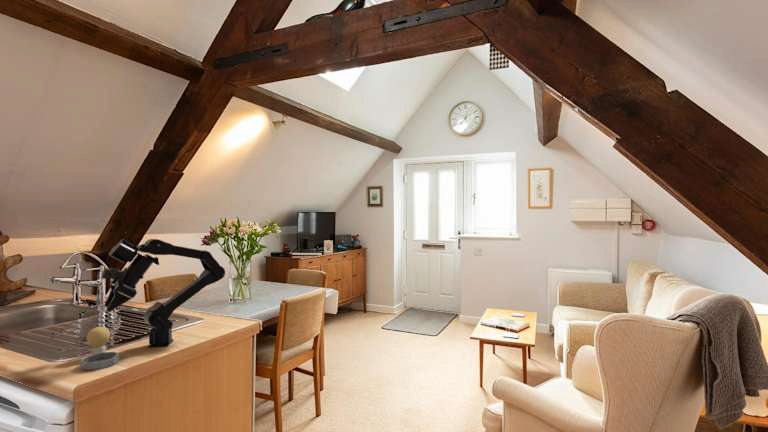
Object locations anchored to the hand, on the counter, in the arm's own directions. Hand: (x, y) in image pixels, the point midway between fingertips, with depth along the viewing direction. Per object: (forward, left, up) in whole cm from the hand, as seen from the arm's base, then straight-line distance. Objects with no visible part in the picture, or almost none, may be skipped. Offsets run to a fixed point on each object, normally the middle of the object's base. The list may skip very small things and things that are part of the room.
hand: (106, 308), depth 131 cm
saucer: (-2, +8, -16) cm, 18 cm away
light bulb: (+3, 0, -16) cm, 17 cm away
